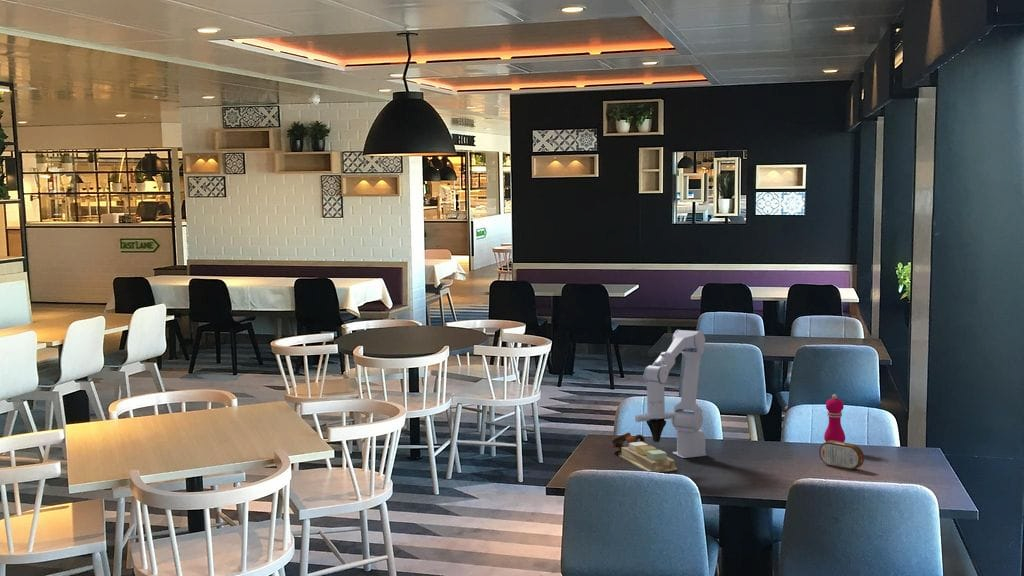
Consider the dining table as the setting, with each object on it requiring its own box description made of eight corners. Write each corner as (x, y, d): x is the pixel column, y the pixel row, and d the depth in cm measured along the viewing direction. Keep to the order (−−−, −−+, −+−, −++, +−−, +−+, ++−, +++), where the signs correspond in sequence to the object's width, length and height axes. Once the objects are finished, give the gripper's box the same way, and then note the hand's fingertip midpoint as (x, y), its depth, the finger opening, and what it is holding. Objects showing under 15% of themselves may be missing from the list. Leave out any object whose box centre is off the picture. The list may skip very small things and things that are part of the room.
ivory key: (641, 448, 351) (641, 441, 351) (648, 451, 346) (648, 444, 346) (628, 450, 349) (628, 442, 349) (635, 453, 345) (634, 445, 344)
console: (645, 454, 354) (645, 444, 354) (677, 470, 331) (677, 460, 331) (619, 457, 351) (619, 447, 351) (649, 473, 328) (649, 463, 328)
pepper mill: (822, 451, 353) (822, 395, 351) (826, 446, 359) (826, 391, 358) (843, 453, 350) (843, 396, 348) (847, 448, 356) (847, 393, 354)
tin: (864, 470, 326) (864, 444, 325) (859, 472, 324) (859, 446, 323) (822, 462, 337) (822, 438, 336) (817, 464, 335) (817, 439, 334)
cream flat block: (650, 452, 344) (650, 445, 344) (657, 455, 339) (657, 448, 339) (637, 454, 343) (637, 446, 342) (643, 457, 338) (643, 449, 338)
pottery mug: (625, 459, 350) (614, 437, 353) (615, 465, 359) (605, 444, 361) (653, 446, 355) (642, 425, 357) (643, 452, 364) (632, 432, 366)
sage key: (659, 456, 338) (659, 449, 337) (666, 460, 333) (666, 452, 333) (646, 458, 336) (646, 451, 336) (653, 461, 331) (653, 454, 331)
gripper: (641, 405, 327) (642, 445, 328) (681, 401, 331) (681, 441, 332) (632, 401, 334) (632, 441, 335) (671, 398, 338) (671, 437, 339)
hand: (656, 441), depth 334 cm, fingers closed
